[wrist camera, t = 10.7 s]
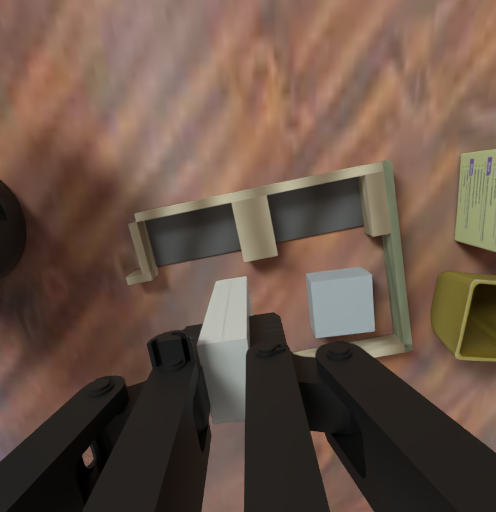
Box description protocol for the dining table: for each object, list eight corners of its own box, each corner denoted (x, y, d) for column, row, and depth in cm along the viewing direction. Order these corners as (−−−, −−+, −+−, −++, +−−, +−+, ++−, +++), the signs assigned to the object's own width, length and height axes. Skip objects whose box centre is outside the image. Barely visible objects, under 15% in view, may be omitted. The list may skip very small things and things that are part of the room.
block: (310, 324, 44) (316, 338, 40) (305, 273, 43) (310, 282, 39) (363, 318, 44) (374, 331, 40) (360, 266, 43) (371, 274, 39)
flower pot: (496, 264, 42) (561, 285, 33) (480, 329, 44) (538, 366, 35) (426, 258, 42) (472, 279, 33) (413, 324, 44) (454, 360, 35)
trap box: (166, 382, 46) (160, 396, 43) (118, 216, 41) (108, 218, 38) (402, 339, 44) (413, 350, 41) (381, 161, 40) (391, 159, 37)
